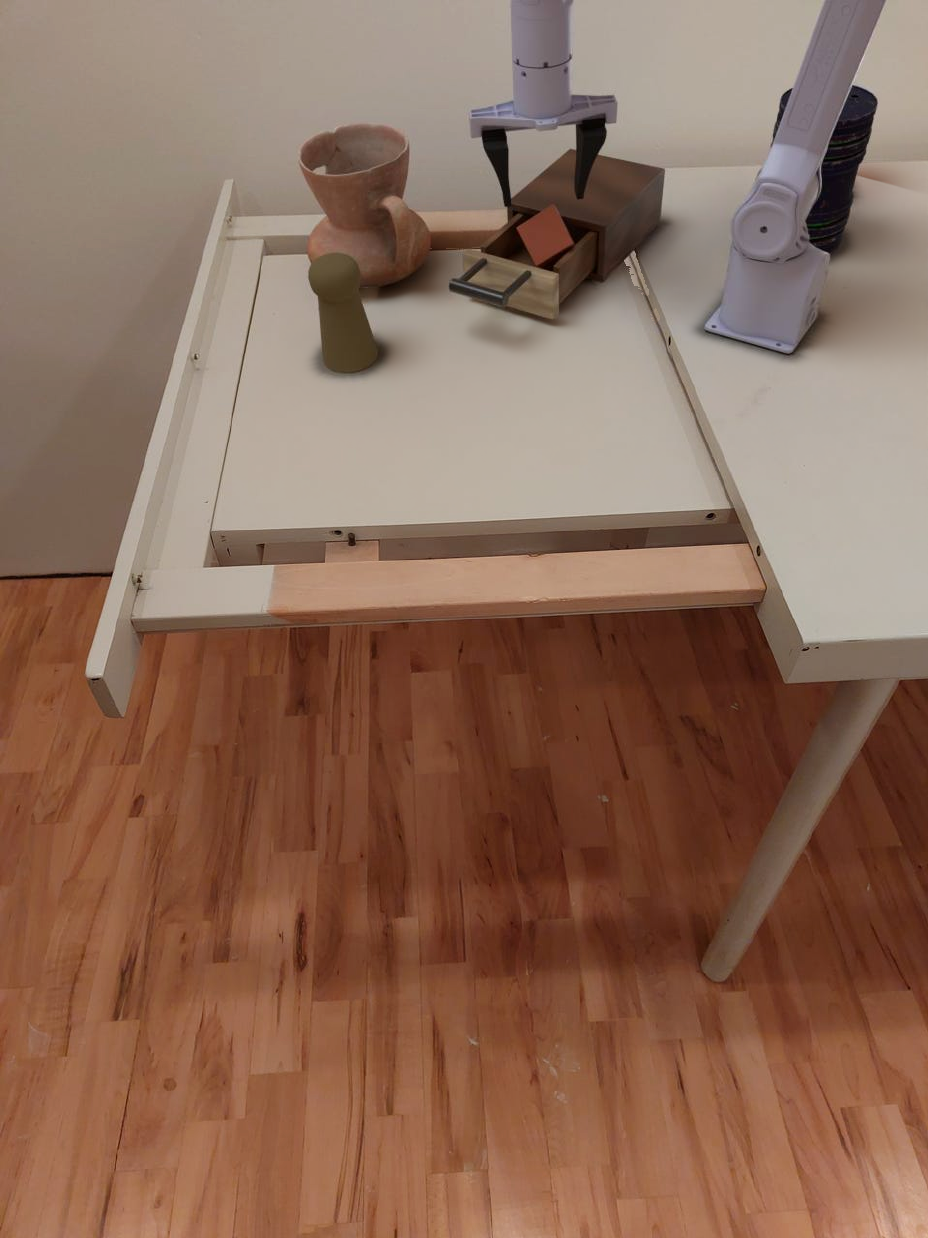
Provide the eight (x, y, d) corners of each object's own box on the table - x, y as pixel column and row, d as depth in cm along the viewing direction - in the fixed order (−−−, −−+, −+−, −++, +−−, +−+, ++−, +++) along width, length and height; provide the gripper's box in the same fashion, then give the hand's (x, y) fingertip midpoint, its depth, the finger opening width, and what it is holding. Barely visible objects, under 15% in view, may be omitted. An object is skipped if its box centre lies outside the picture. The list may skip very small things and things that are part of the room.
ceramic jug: (288, 260, 110) (259, 139, 99) (390, 221, 114) (374, 101, 103) (357, 326, 100) (333, 200, 89) (466, 281, 104) (457, 155, 93)
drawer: (523, 350, 93) (522, 303, 89) (433, 321, 98) (428, 276, 94) (612, 259, 103) (615, 213, 99) (527, 237, 108) (526, 192, 103)
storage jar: (774, 267, 101) (803, 127, 90) (740, 225, 107) (763, 90, 96) (858, 251, 102) (897, 111, 90) (819, 211, 108) (851, 75, 97)
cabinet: (603, 282, 102) (606, 226, 97) (508, 256, 107) (506, 201, 102) (660, 223, 109) (665, 168, 104) (569, 201, 114) (570, 148, 109)
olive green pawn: (370, 374, 94) (352, 278, 86) (315, 370, 95) (292, 275, 87) (384, 340, 98) (369, 244, 89) (331, 337, 99) (311, 242, 90)
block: (576, 247, 99) (573, 243, 95) (541, 269, 101) (536, 266, 97) (557, 209, 99) (553, 203, 95) (521, 232, 100) (516, 227, 96)
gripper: (468, 81, 83) (477, 224, 93) (626, 64, 82) (617, 209, 93) (464, 52, 87) (473, 191, 98) (613, 36, 87) (606, 177, 97)
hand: (543, 198), depth 96 cm, fingers open, 7 cm apart
